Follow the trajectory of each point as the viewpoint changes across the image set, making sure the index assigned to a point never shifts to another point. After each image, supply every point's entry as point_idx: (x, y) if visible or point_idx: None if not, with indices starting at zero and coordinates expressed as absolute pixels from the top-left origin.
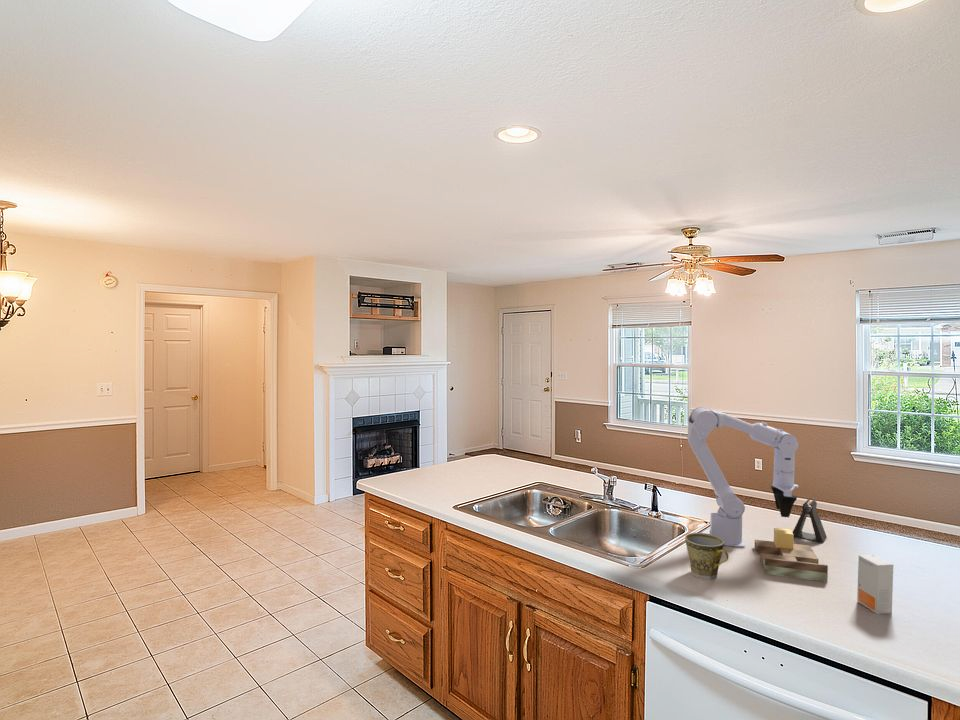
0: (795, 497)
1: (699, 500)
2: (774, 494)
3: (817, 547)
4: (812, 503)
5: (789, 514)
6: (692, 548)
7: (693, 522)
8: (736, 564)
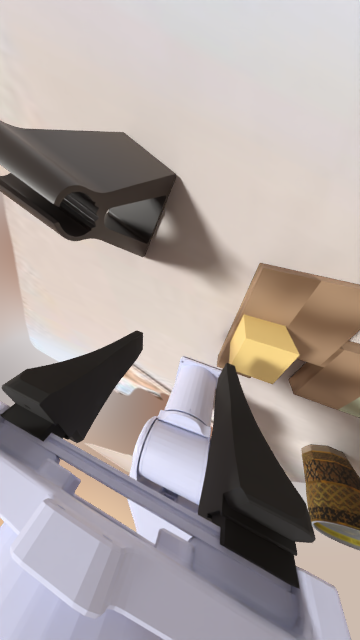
0: (308, 537)
1: (41, 332)
2: (104, 401)
3: (214, 214)
4: (24, 166)
5: (237, 376)
6: (357, 533)
7: (130, 376)
8: (295, 411)
